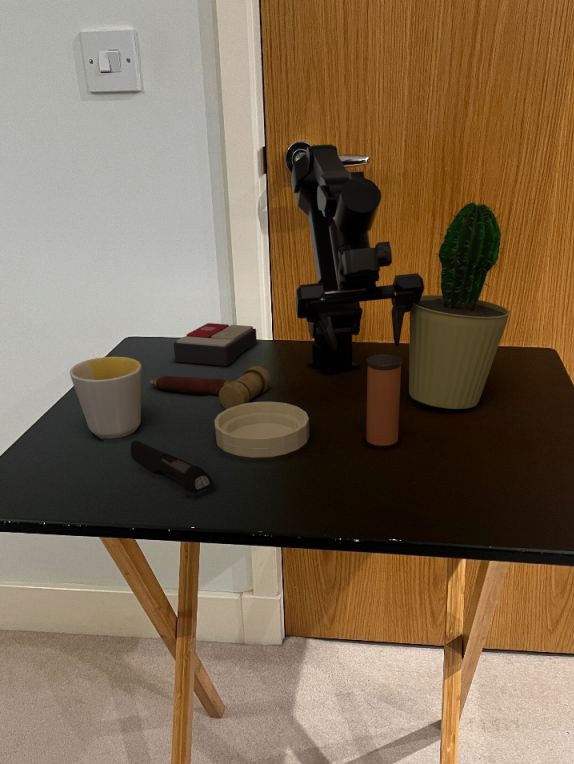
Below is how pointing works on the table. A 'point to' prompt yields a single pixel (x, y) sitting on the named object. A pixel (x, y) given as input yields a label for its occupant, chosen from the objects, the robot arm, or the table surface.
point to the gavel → (220, 386)
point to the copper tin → (383, 399)
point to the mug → (109, 394)
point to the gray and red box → (214, 344)
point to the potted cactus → (458, 316)
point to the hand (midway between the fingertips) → (366, 348)
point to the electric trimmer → (171, 467)
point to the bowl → (262, 429)
